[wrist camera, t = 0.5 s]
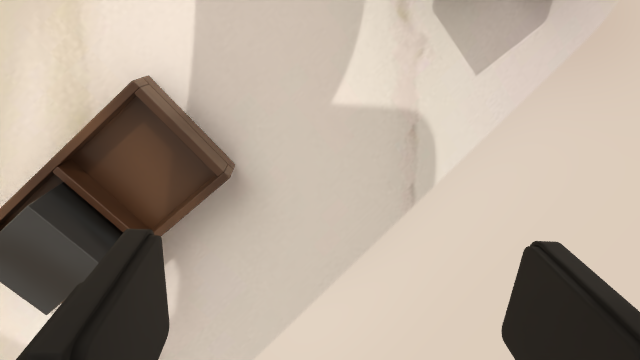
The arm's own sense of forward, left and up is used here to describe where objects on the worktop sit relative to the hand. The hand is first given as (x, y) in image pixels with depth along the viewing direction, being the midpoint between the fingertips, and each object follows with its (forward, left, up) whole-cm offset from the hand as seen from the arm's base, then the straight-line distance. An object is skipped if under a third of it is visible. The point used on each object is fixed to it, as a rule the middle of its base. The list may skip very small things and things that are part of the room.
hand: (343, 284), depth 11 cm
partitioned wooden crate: (+13, -5, -17) cm, 21 cm away
